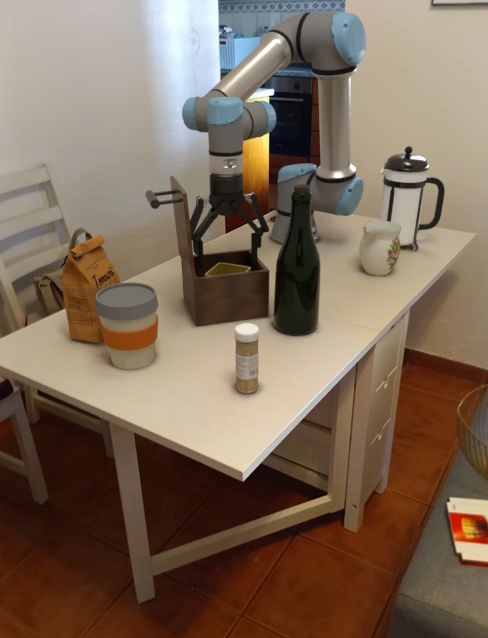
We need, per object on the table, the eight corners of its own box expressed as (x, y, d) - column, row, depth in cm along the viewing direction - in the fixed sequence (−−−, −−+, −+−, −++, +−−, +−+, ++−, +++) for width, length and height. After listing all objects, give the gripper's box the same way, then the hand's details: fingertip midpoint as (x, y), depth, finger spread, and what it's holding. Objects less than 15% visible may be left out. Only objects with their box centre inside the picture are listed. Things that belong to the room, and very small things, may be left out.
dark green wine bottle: (290, 340, 133) (296, 194, 116) (264, 322, 141) (267, 183, 124) (326, 329, 138) (337, 187, 121) (300, 312, 145) (307, 176, 129)
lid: (173, 176, 136) (141, 180, 134) (186, 192, 123) (151, 197, 121) (182, 253, 145) (152, 258, 144) (195, 276, 133) (163, 282, 131)
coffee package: (133, 325, 139) (123, 235, 128) (99, 349, 130) (85, 254, 119) (99, 317, 143) (87, 229, 132) (64, 339, 134) (47, 246, 123)
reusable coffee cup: (167, 368, 123) (162, 303, 115) (105, 378, 120) (96, 311, 112) (157, 340, 133) (152, 278, 126) (101, 348, 130) (92, 285, 123)
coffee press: (404, 257, 177) (419, 154, 162) (362, 243, 188) (372, 145, 173) (437, 244, 187) (453, 146, 172) (395, 232, 198) (408, 138, 183)
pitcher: (409, 265, 172) (416, 219, 165) (382, 285, 160) (388, 236, 153) (375, 256, 178) (380, 212, 171) (346, 275, 166) (350, 227, 159)
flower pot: (252, 299, 149) (251, 266, 145) (238, 314, 142) (237, 279, 138) (220, 294, 152) (219, 261, 148) (205, 308, 145) (203, 274, 141)
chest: (250, 292, 156) (250, 248, 150) (268, 316, 143) (269, 270, 137) (183, 300, 151) (180, 256, 145) (196, 326, 139) (193, 279, 133)
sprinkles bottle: (252, 380, 119) (252, 320, 112) (262, 391, 115) (263, 330, 109) (231, 385, 117) (230, 325, 111) (241, 397, 114) (241, 335, 107)
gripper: (174, 181, 125) (180, 275, 136) (284, 173, 131) (281, 263, 142) (168, 173, 131) (174, 263, 142) (273, 165, 137) (271, 252, 148)
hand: (228, 263), depth 142 cm, fingers open, 12 cm apart
